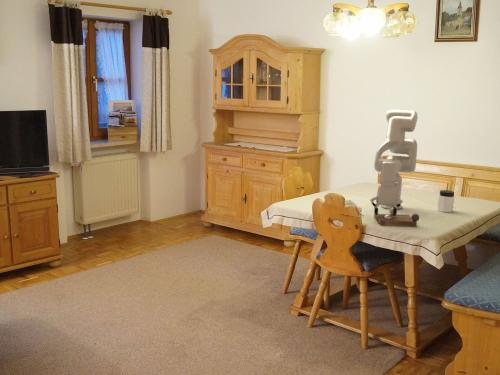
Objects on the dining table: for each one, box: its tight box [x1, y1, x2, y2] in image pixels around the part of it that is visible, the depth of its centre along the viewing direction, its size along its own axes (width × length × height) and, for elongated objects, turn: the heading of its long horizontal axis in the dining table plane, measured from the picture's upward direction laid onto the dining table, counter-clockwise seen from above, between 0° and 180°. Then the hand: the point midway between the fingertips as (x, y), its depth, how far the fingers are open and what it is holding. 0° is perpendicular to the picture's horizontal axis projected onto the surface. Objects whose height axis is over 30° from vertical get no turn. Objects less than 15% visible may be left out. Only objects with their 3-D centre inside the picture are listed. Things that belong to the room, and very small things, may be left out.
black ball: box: [411, 213, 420, 222], centre depth 299 cm, size 4×4×4 cm
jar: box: [437, 189, 455, 213], centre depth 337 cm, size 9×8×12 cm
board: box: [373, 213, 418, 228], centre depth 306 cm, size 16×19×2 cm
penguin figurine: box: [345, 197, 363, 213], centre depth 322 cm, size 6×8×12 cm
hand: (385, 215), depth 305 cm, fingers open, 9 cm apart
